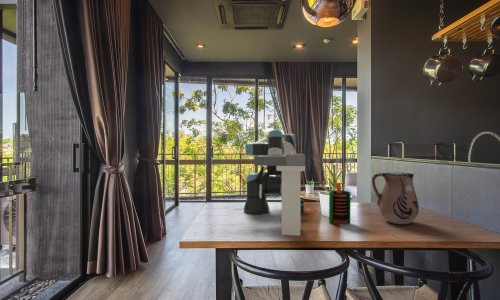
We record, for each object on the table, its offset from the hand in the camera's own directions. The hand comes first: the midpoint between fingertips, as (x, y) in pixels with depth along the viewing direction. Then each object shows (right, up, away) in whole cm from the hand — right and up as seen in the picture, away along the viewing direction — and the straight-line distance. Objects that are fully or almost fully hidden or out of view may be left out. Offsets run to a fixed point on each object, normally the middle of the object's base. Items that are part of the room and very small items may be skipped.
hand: (274, 197), depth 141 cm
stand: (+7, -13, -11) cm, 19 cm away
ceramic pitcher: (+62, -13, +5) cm, 63 cm away
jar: (+15, -13, +27) cm, 33 cm away
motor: (+33, -13, +4) cm, 36 cm away
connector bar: (+1, +17, -15) cm, 22 cm away
